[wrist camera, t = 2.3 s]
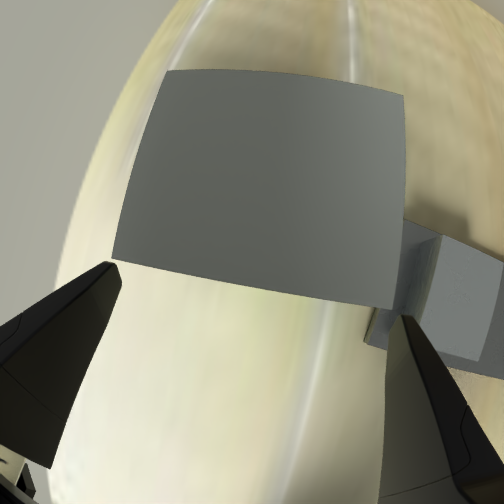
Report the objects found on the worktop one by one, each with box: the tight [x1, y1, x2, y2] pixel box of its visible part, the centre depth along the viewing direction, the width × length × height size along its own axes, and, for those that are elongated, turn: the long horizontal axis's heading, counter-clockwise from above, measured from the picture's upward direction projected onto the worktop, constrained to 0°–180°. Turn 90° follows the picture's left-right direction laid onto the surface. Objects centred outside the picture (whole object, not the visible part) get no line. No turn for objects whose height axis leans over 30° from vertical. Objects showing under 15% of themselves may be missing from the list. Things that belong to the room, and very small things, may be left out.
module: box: [111, 69, 406, 310], centre depth 12 cm, size 5×6×13 cm
